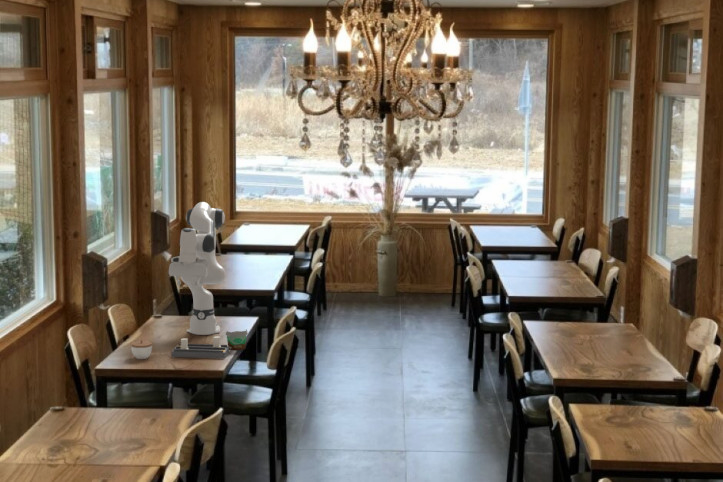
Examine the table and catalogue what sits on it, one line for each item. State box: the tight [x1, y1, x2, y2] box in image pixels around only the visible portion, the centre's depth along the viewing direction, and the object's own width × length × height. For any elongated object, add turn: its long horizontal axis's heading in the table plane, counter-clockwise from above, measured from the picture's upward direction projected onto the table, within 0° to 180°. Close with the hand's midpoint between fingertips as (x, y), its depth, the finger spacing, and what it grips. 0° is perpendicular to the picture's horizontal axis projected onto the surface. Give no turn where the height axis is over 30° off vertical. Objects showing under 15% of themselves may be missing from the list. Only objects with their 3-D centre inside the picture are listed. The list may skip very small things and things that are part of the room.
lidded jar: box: [130, 339, 153, 360], centre depth 555 cm, size 11×11×9 cm
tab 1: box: [180, 337, 189, 349], centre depth 560 cm, size 3×4×6 cm
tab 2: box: [212, 335, 221, 347], centre depth 566 cm, size 3×4×6 cm
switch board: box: [171, 342, 230, 359], centre depth 564 cm, size 13×28×4 cm, turn 87°
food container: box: [225, 328, 249, 351], centre depth 575 cm, size 12×6×10 cm, turn 117°
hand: (187, 284), depth 566 cm, fingers open, 8 cm apart
